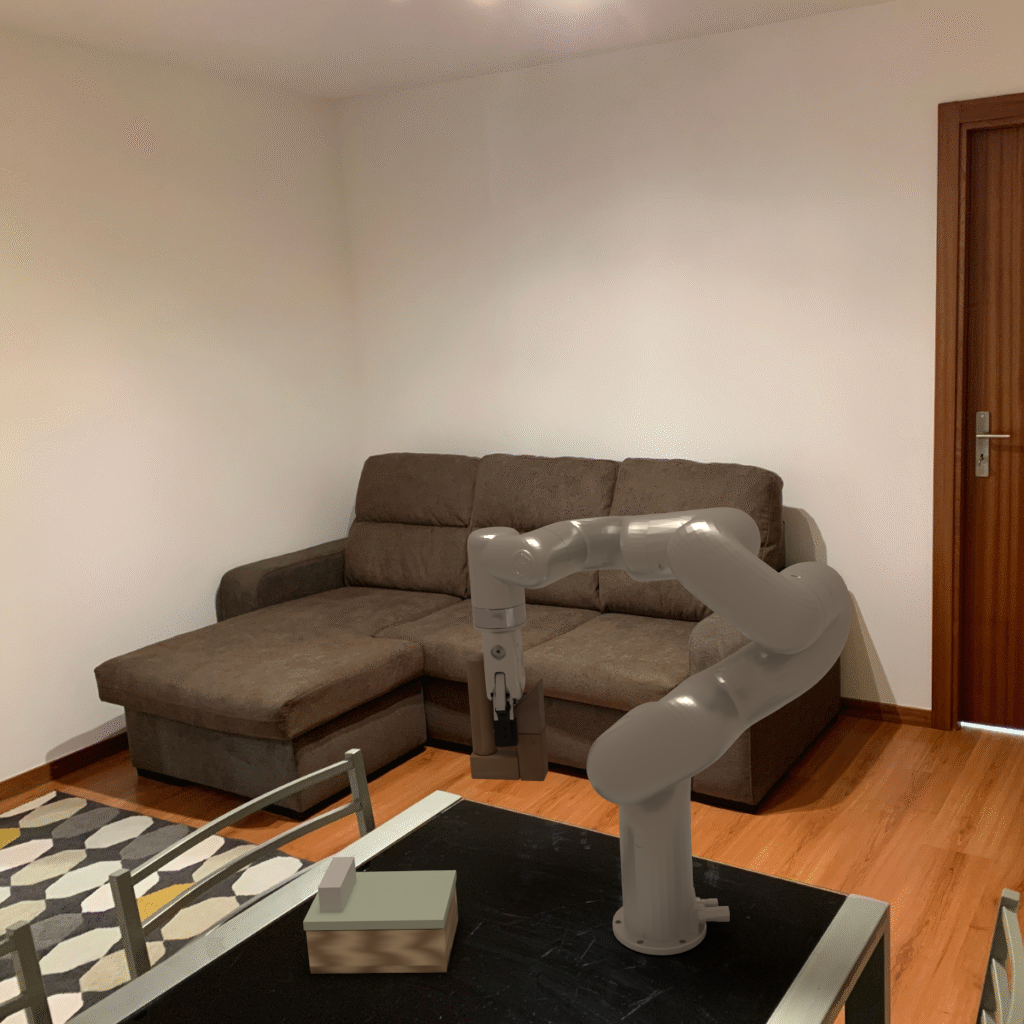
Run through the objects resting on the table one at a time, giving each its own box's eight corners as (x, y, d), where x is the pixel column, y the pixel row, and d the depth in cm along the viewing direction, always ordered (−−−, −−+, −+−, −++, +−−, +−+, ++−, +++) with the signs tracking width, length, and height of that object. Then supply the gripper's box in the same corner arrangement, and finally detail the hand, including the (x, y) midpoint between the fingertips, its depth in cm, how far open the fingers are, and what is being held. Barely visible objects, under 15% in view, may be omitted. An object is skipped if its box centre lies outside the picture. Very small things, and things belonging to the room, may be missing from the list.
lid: (456, 878, 142) (454, 846, 142) (443, 928, 130) (441, 894, 129) (328, 880, 144) (325, 849, 143) (303, 930, 132) (300, 896, 131)
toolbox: (458, 920, 143) (455, 880, 142) (446, 972, 131) (442, 929, 130) (333, 922, 145) (329, 883, 144) (310, 973, 133) (306, 931, 132)
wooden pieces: (544, 782, 143) (536, 660, 140) (470, 780, 146) (461, 659, 143) (549, 771, 147) (541, 652, 144) (477, 769, 149) (468, 651, 146)
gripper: (522, 630, 134) (530, 762, 137) (529, 599, 150) (536, 717, 153) (465, 633, 134) (475, 763, 137) (479, 601, 151) (487, 718, 154)
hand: (507, 737), depth 145 cm, fingers closed on wooden pieces, 4 cm apart
